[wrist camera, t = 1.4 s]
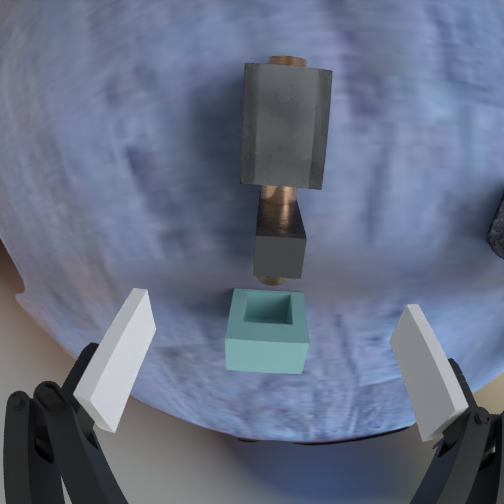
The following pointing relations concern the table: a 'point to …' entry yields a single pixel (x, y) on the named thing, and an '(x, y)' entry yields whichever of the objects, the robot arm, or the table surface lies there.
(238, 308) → the socket
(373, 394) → the table surface
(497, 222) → the stone
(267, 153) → the sleeve
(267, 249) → the hammer
